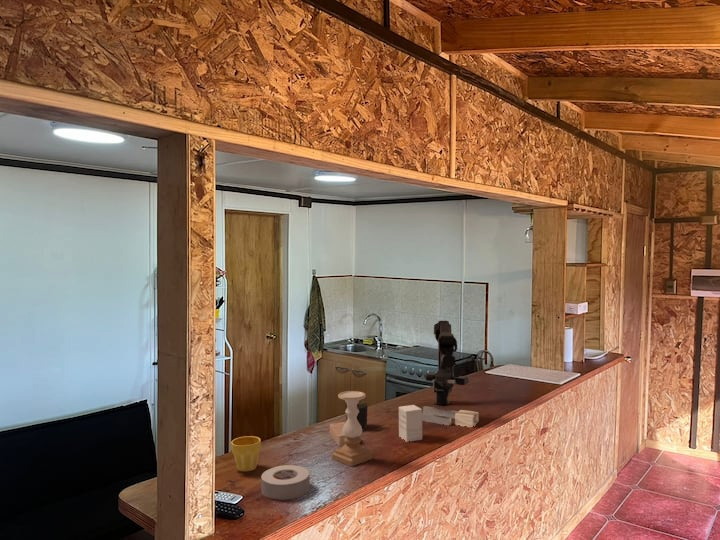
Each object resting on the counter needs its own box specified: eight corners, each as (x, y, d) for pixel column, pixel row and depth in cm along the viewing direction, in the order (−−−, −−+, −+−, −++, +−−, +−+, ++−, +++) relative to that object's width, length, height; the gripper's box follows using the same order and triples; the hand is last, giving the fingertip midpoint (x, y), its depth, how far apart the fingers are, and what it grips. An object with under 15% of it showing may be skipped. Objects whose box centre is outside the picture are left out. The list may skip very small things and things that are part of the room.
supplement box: (414, 434, 229) (414, 404, 228) (422, 440, 222) (422, 409, 221) (398, 436, 226) (398, 406, 226) (406, 442, 219) (406, 411, 219)
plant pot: (225, 468, 194) (225, 440, 193) (250, 460, 201) (250, 433, 201) (241, 476, 186) (241, 447, 186) (267, 468, 194) (266, 440, 193)
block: (461, 420, 248) (461, 409, 248) (478, 423, 244) (478, 412, 244) (454, 425, 241) (454, 414, 241) (472, 428, 237) (472, 416, 237)
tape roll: (275, 504, 166) (275, 488, 165) (253, 487, 178) (253, 472, 178) (318, 491, 175) (318, 476, 174) (295, 476, 187) (294, 461, 187)
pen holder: (353, 432, 231) (353, 409, 231) (341, 427, 239) (341, 404, 239) (371, 428, 236) (371, 405, 236) (359, 423, 244) (359, 400, 244)
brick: (359, 445, 217) (359, 433, 217) (338, 447, 215) (338, 435, 215) (348, 432, 233) (348, 421, 233) (328, 434, 231) (328, 423, 231)
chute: (424, 412, 260) (424, 406, 260) (460, 418, 251) (460, 411, 251) (412, 419, 250) (412, 412, 250) (449, 425, 240) (449, 418, 240)
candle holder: (373, 458, 202) (373, 394, 201) (351, 466, 194) (351, 399, 194) (352, 451, 210) (352, 389, 209) (331, 458, 202) (330, 394, 201)
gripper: (420, 364, 245) (420, 398, 245) (459, 368, 235) (459, 404, 235) (430, 360, 254) (430, 393, 255) (469, 364, 244) (469, 398, 245)
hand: (446, 397), depth 247 cm, fingers closed
